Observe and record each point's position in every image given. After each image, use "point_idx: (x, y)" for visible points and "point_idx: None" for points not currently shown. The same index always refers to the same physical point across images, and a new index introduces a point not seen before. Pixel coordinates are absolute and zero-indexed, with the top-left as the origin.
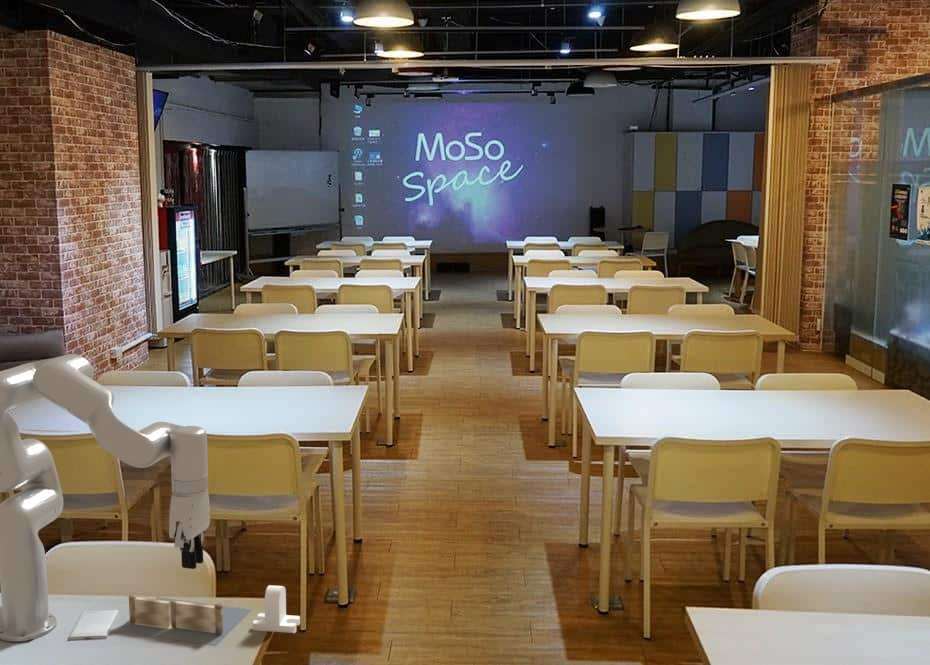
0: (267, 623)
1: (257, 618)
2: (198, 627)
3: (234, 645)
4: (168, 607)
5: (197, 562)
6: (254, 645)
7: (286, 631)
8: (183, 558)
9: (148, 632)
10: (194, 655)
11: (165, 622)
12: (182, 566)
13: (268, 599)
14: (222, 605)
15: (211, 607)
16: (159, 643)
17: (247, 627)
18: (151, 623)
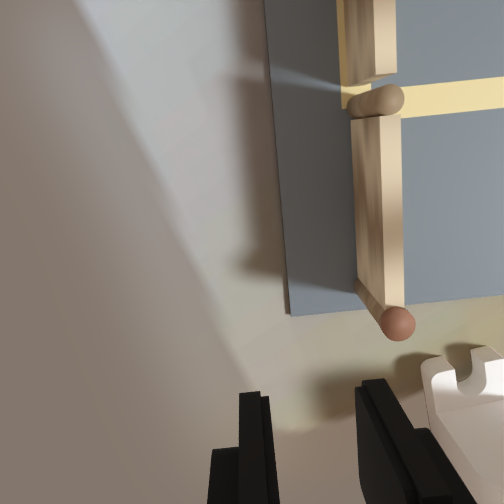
0: (439, 423)
1: (480, 360)
2: (357, 214)
3: (318, 360)
4: (373, 77)
5: (360, 455)
6: (338, 411)
7: None
8: (209, 493)
9: (290, 34)
10: (218, 284)
11: (351, 71)
12: (240, 398)
13: (484, 491)
14: (405, 337)
15: (386, 294)
16: (243, 123)
17: (439, 334)
18: (345, 4)
